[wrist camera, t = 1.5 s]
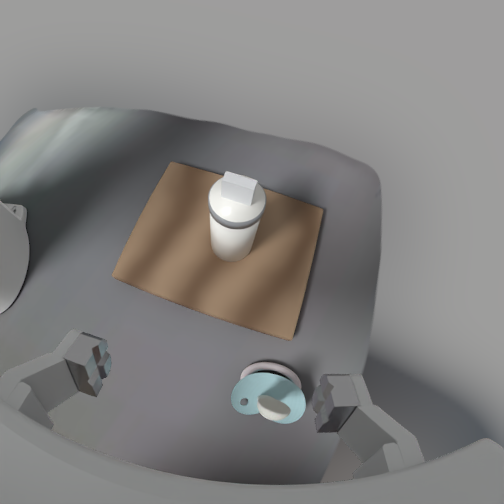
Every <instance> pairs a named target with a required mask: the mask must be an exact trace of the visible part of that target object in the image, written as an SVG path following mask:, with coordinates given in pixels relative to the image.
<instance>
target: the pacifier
mask: <svg viewBox="0 0 504 504" xmlns="http://www.w3.org/2000/svg"><path fill="white" fill-rule="evenodd" d="M260 370H272V371H276V372H279V373H281V374H283V375H285V376H286V377H287V378H288V379H289V380H288V379H286V378H284V377H282V376H279V375H275V374H271V373H254V372H257V371H260ZM253 373H254V374H253ZM242 398H247V399H248V403H247V405H241V404H240V401H241V399H242ZM231 402H232V405H233V407H234V408H235V409H236V410H237V411H238V412H240V413H242V414H247V415H252V414H257V413H260V414H261V415H262V416H264V417H265V418H267V419H269V420H272V421H274V422H277V423H282V424H288V423H292V422H295V421H297V420H298V419H300V417H301V416H302V415H303V413H304V411H305V406H306V403H305V398H304V395H303V392H302V391H301V382H300V379H299V378H298V376H297V375H296V374H295V373H294V372H293V371H292V370H290V369H288V368H287V367H285V366H282V365H280V364H276V363H271V362H259V363H254V364H252V365H249V366H248V367H246V368H245V369H244V370H243V372H242V374H241V379H240V381H239V382H238V383H237V384H236V385H235V387H234V389H233V391H232V395H231Z"/></svg>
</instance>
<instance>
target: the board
mask: <svg viewBox="0 0 504 504" xmlns="http://www.w3.org/2000/svg"><path fill="white" fill-rule="evenodd" d="M222 177H224V176H222V175H219V174H215V173H212V172H208V171H205V170H201V169H198V168H194V167H190V166H187V165H183V164H179V163H175V162H170V164H169V166H168V167H167V169H166V171H165V172H164V174H163V176H162V177H161V179H160V181H159V183H158V184H157V186H156V188H155V190H154V191H153V193H152V195H151V197H150V199H149V200H148V202H147V204H146V206H145V208H144V210H143V211H142V213H141V215H140V217H139V219H138V221H137V223H136V225H135V227H134V229H133V231H132V233H131V235H130V237H129V239H128V241H127V243H126V245H125V247H124V249H123V251H122V254H121V256H120V258H119V260H118V262H117V265H116V267H115V269H114V271H113V274H112V276H113V277H114V278H115V279H117V280H120V281H122V282H124V283H127V284H129V285H131V286H134V287H136V288H138V289H141V290H143V291H146V292H148V293H151V294H153V295H156V296H158V297H161V298H163V299H166V300H168V301H171V302H174V303H176V304H179V305H182V306H184V307H187V308H190V309H192V310H195V311H198V312H201V313H204V314H206V315H209V316H212V317H215V318H218V319H221V320H224V321H227V322H230V323H233V324H236V325H239V326H242V327H245V328H248V329H251V330H255V331H258V332H261V333H264V334H268V335H271V336H274V337H278V338H281V339H285V340H288V341H290V340H292V338H293V335H294V331H295V328H296V324H297V320H298V317H299V313H300V309H301V305H302V301H303V297H304V293H305V289H306V285H307V281H308V277H309V273H310V269H311V265H312V260H313V256H314V251H315V247H316V242H317V238H318V233H319V228H320V224H321V219H322V214H323V209H321V208H319V207H316V206H313V205H311V204H308V203H305V202H302V201H299V200H296V199H294V198H291V197H288V196H285V195H282V194H279V193H276V192H273V191H270V190H267V189H264V188H263V189H264V191H265V194H266V200H267V201H266V206H265V210H264V213H263V215H262V217H261V219H260V222H259V225H258V228H257V231H256V234H255V238H254V241H253V244H252V247H251V250H250V252H249V254H248V255H247V256H246V257H245V258H243V259H242V260H239V261H235V262H229V261H224V260H222V259H220V258H219V257H218V256H217V255H216V254H215V253H214V252H213V250H212V247H211V232H210V212H209V207H208V194H209V191H210V188H211V187H212V185H213V184H214V183H215V182H216V181H217V180H219V179H220V178H222Z"/></svg>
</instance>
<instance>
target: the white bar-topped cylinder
mask: <svg viewBox="0 0 504 504" xmlns="http://www.w3.org/2000/svg"><path fill="white" fill-rule="evenodd" d="M266 201H267V200H266V194H265V191H264V189H263V188H262V186H261V185H260V184H259V183H258V182H257V180H254V179H252V178H250V177H248V176H245V175H238V174H234V173H231V172H227V171H226V172H225V175H224V177H222V178H220V179H219V180H217V181H216V182H215V183H214V184H213V185H212V187H211V188H210V191H209V194H208V207H209V212H210V232H211V247H212V250H213V252H214V253H215V254H216V255H217V256H218V257H219V258H220V259H222V260H224V261H229V262H235V261H239V260H242V259H243V258H245V257H246V256H247V255H248V254H249V252H250V250H251V247H252V244H253V241H254V238H255V234H256V231H257V228H258V225H259V222H260V219H261V217H262V215H263V213H264V210H265V206H266Z"/></svg>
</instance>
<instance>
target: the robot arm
mask: <svg viewBox="0 0 504 504" xmlns="http://www.w3.org/2000/svg"><path fill="white" fill-rule="evenodd" d="M26 217H27V210H26V208H25V207H23V206H22V205H16V204H5V203H2V202H1V201H0V313H2V312H4V311H5V310H6V309H7V308H8V307H9V306H10V305H11V304H12V303H13V301H14V300H15V298H16V297H17V295H18V293H19V291H20V289H21V287H22V284H23V282H24V279H25V276H26V272H27V267H28V262H29V239H28V235H27V231H26ZM107 348H108V344H107V340H105V339H102V338H99V337H96V336H93V335H91V334H88V333H85V332H81V331H79V330H76V329H72V330H70V331H69V332H68V333H67V335H66V336H65V337H64V339H63V340H62V341H61V342H60V344H59V345H58V346H57V348H56V349H55V350H54V352H53V353H52V354H51V353H47V354H45V355H42V356H40V357H38V358H35V359H33V360H30V361H28V362H26V363H23V364H21V365H18V366H16V367H14V368H11V369H9V370H6V371H5V373H4V374H3V375H2V377H1V378H0V504H504V448H503V447H501V446H500V445H498V444H497V443H495V442H494V441H492V440H490V439H488V438H484V439H481V440H479V441H477V442H475V443H472V444H470V445H468V446H466V447H463V448H461V449H459V450H456V451H454V452H451V453H449V454H446V455H444V456H441V457H438V458H435V459H433V460H430V461H427V462H425V461H424V458H423V455H422V453H421V450H420V447H419V445H418V442H417V439H416V437H415V436H414V435H412V434H411V433H410V432H409V431H407V430H406V429H405V428H403V427H402V426H401V425H400V424H399V423H398V422H396V421H395V420H394V419H392V418H391V417H390V416H389V415H388V414H386V413H385V412H384V411H383V410H382V409H380V408H379V407H378V406H377V405H373V404H372V401H371V398H370V395H369V393H368V390H367V387H366V385H365V382H364V379H363V377H362V375H361V374H324V375H322V377H321V379H320V384H321V385H319V386H318V387H316V389H315V391H314V393H313V398H312V406H313V410H314V411H315V412H316V413H317V416H316V418H315V424H316V430H317V433H332V432H338V433H337V434H338V435H339V436H340V437H341V439H342V440H343V441H344V442H345V443H346V444H347V446H348V447H349V448H350V449H351V450H352V451H353V453H354V454H355V455H356V456H357V457H358V458H359V460H360V461H361V462H362V463H363V464H362V465H361V466H360V467H359V468H358V469H356V470H355V471H354V472H353V478H354V479H351V480H344V481H336V482H327V483H316V484H300V485H255V484H239V483H228V482H219V481H211V480H204V479H198V478H192V477H186V476H181V475H176V474H171V473H167V472H163V471H159V470H155V469H151V468H147V467H143V466H140V465H137V464H133V463H130V462H127V461H124V460H121V459H118V458H115V457H112V456H109V455H107V454H104V453H101V452H99V451H96V450H94V449H91V448H89V447H86V446H84V445H82V444H79V443H77V442H75V441H73V440H71V439H69V438H66V437H64V436H62V435H60V434H58V433H56V432H54V431H52V430H51V429H52V427H53V425H54V424H53V421H52V420H51V419H50V417H49V416H48V414H47V412H49V411H50V410H52V409H53V408H55V407H57V406H58V405H60V404H61V403H63V402H64V401H66V400H67V399H69V398H70V397H72V396H73V395H75V394H76V393H78V391H80V392H83V393H86V394H89V395H92V396H95V397H97V396H98V394H99V392H100V390H101V388H102V386H103V384H102V379H104V378H106V377H107V376H108V374H109V372H110V368H111V357H110V354H109V353H108V352H107V351H106V350H107Z"/></svg>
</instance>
